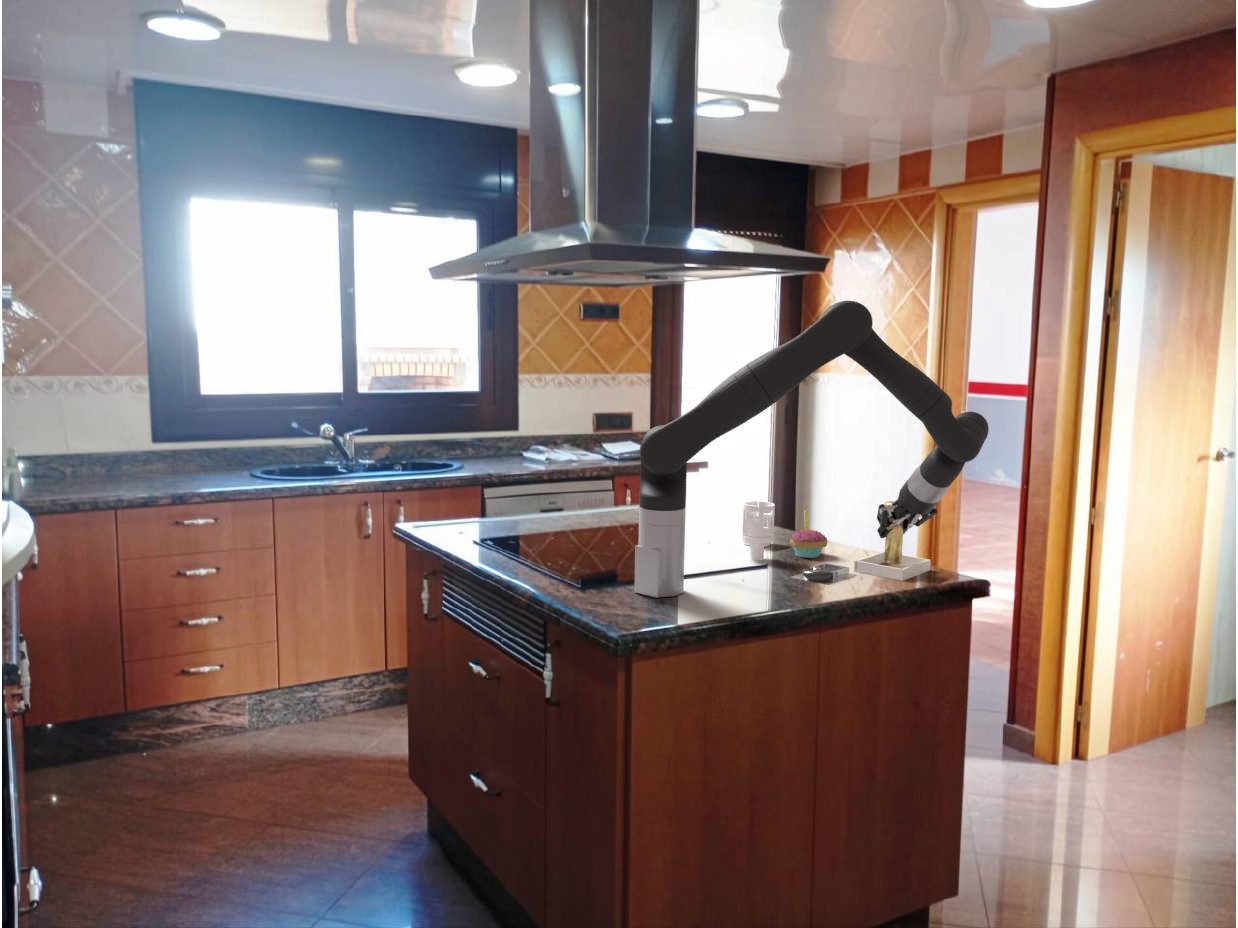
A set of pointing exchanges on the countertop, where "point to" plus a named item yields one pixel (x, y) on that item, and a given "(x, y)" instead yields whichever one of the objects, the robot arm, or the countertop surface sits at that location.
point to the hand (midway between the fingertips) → (888, 534)
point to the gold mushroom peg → (894, 542)
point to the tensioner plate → (835, 573)
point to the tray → (912, 567)
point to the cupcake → (808, 541)
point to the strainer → (757, 526)
